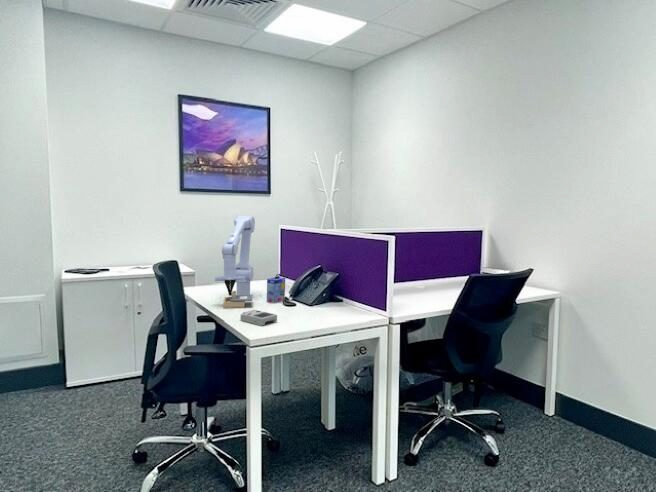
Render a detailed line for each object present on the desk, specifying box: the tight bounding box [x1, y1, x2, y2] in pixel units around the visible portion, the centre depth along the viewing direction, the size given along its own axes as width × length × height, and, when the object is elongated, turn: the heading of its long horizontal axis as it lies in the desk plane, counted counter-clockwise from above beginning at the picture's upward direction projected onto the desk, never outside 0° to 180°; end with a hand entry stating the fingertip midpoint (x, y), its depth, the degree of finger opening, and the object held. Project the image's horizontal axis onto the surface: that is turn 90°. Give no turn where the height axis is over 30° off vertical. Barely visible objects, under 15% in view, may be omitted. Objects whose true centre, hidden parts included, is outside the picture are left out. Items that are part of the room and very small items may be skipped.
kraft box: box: [222, 296, 246, 309], centre depth 222 cm, size 12×10×3 cm
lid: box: [230, 290, 253, 302], centre depth 222 cm, size 12×10×3 cm
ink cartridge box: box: [266, 273, 286, 304], centre depth 231 cm, size 10×6×14 cm, turn 152°
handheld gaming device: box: [240, 309, 278, 326], centre depth 192 cm, size 9×15×4 cm, turn 52°
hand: (230, 295), depth 221 cm, fingers closed
